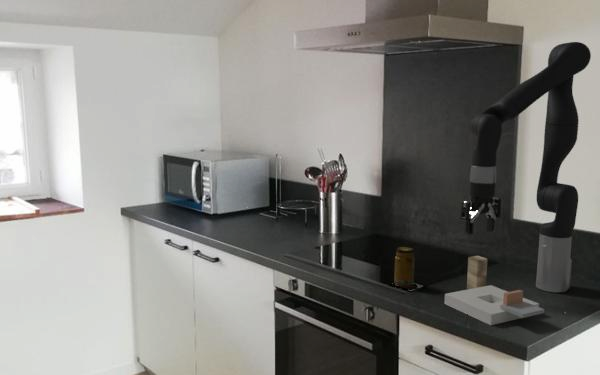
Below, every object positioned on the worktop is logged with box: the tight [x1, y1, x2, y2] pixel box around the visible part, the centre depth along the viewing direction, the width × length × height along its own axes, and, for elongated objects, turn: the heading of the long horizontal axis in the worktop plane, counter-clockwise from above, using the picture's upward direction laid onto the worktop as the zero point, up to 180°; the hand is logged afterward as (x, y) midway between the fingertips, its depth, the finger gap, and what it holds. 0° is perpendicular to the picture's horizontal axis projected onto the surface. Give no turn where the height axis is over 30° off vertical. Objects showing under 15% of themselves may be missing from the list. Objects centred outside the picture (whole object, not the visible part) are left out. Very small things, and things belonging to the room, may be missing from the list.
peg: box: [466, 255, 488, 290], centre depth 186 cm, size 4×4×10 cm
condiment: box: [393, 246, 424, 292], centre depth 188 cm, size 7×8×12 cm
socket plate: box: [444, 284, 540, 326], centre depth 170 cm, size 18×18×3 cm
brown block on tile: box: [500, 289, 545, 319], centre depth 159 cm, size 8×8×4 cm
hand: (479, 232), depth 184 cm, fingers open, 8 cm apart
